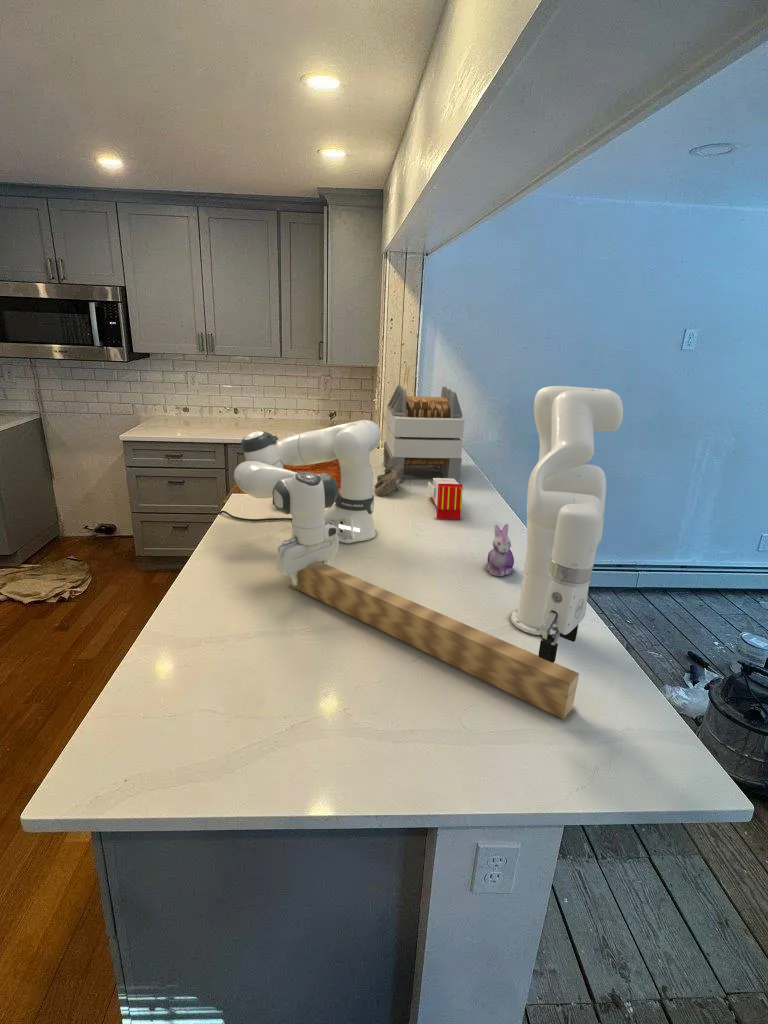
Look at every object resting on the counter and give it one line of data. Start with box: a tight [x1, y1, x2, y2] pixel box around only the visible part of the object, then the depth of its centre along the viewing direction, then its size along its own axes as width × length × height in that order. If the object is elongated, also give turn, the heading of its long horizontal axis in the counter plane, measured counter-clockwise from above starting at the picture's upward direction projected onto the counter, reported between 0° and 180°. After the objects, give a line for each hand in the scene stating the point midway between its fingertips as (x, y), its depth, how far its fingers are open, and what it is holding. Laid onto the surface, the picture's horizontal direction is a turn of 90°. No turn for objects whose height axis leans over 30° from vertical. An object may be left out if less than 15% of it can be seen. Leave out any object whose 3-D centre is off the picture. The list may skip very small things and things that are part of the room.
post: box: [291, 561, 580, 720], centre depth 136 cm, size 80×5×8 cm, turn 50°
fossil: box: [374, 466, 405, 497], centre depth 246 cm, size 22×10×15 cm
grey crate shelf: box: [383, 384, 465, 484], centre depth 268 cm, size 34×33×41 cm
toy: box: [427, 477, 464, 520], centre depth 227 cm, size 12×13×30 cm
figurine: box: [486, 523, 515, 577], centre depth 172 cm, size 9×10×15 cm
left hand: (308, 578), depth 157 cm, fingers open, 8 cm apart
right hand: (557, 648), depth 111 cm, fingers open, 9 cm apart
